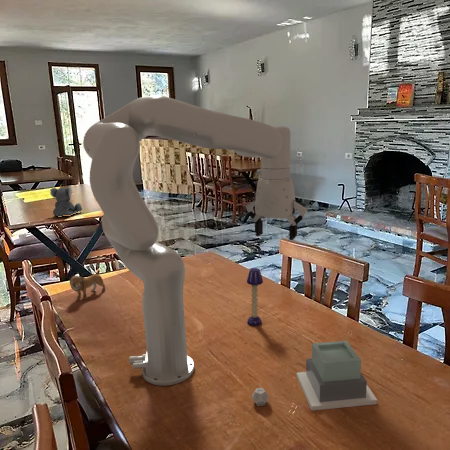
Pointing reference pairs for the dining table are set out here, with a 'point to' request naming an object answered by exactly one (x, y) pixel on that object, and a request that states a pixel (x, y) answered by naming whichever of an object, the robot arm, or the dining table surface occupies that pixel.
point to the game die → (260, 396)
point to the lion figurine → (86, 284)
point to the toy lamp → (254, 294)
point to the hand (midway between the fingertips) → (275, 237)
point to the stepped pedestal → (334, 378)
